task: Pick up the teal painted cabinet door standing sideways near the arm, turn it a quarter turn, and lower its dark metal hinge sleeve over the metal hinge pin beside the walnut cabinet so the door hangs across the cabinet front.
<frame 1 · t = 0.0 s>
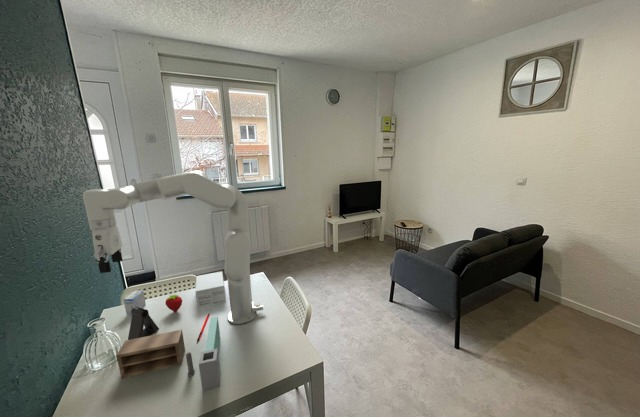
hand: (112, 266, 98), 31 cm above the table, tool pointing down, fingers open, 9 cm apart
strawberry: (175, 312, 121), on the table
cabinet door: (211, 382, 84), on the table
pen: (203, 328, 110), on the table
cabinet: (191, 372, 88), on the table
supplement box: (211, 297, 134), on the table
phone stand: (144, 335, 107), on the table
medicine box: (136, 311, 123), on the table
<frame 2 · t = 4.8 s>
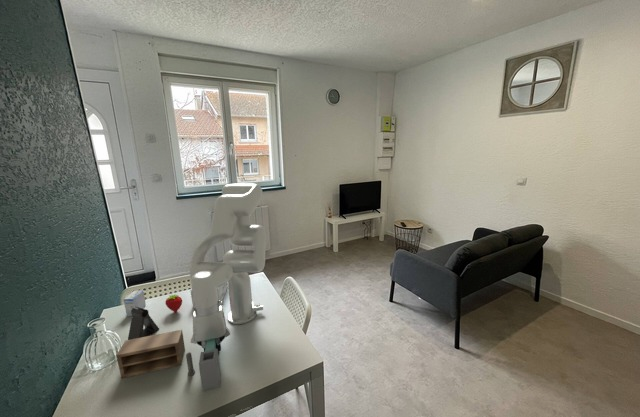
hand: (213, 353, 91), 4 cm above the table, tool pointing down, fingers closed on cabinet door, 2 cm apart
cabinet door: (211, 382, 84), on the table, touching gripper
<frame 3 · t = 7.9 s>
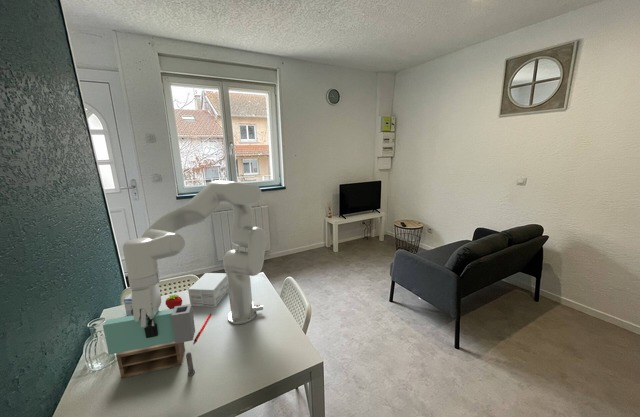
hand: (153, 332, 81), 18 cm above the table, tool pointing down, fingers closed on cabinet door, 2 cm apart
cabinet door: (185, 336, 84), point 14 cm above the table, touching gripper
when the fingers open (5 cm above the table, at t = 10.9 s): cabinet door stays where it is, on the table.
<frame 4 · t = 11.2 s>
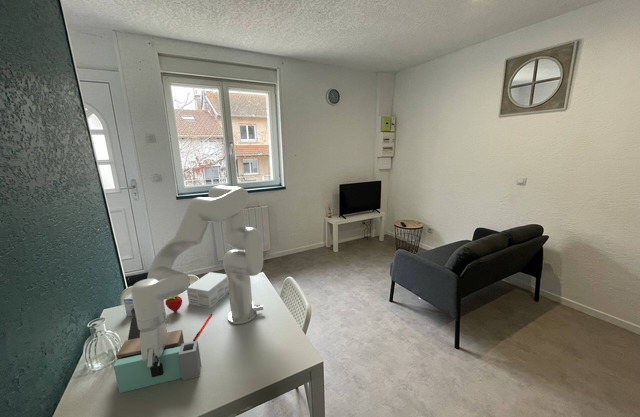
hand: (160, 367, 84), 5 cm above the table, tool pointing down, fingers open, 5 cm apart
cabinet door: (192, 372, 88), on the table
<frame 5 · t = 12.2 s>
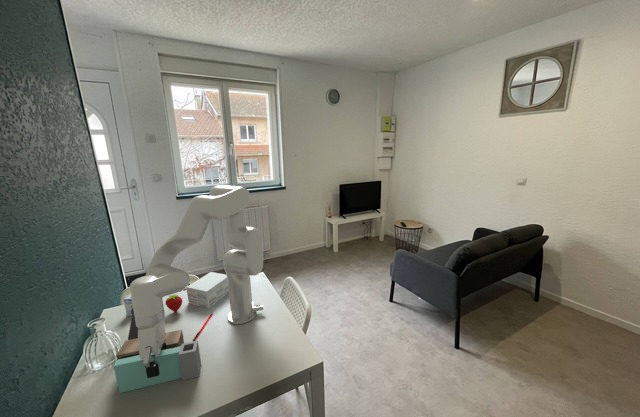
hand: (157, 364, 82), 7 cm above the table, tool pointing down, fingers open, 8 cm apart
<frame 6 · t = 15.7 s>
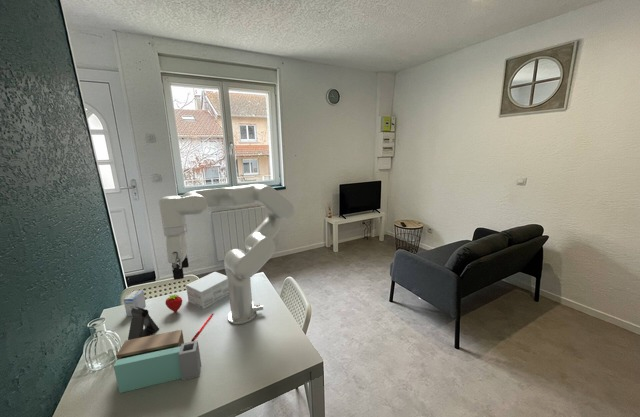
hand: (181, 272, 98), 28 cm above the table, tool pointing down, fingers open, 9 cm apart
at the end: cabinet door 0.2 cm off-centre on the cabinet, point 0.0 cm above the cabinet's base; cabinet door tilted 0°; the gripper is holding nothing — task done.
